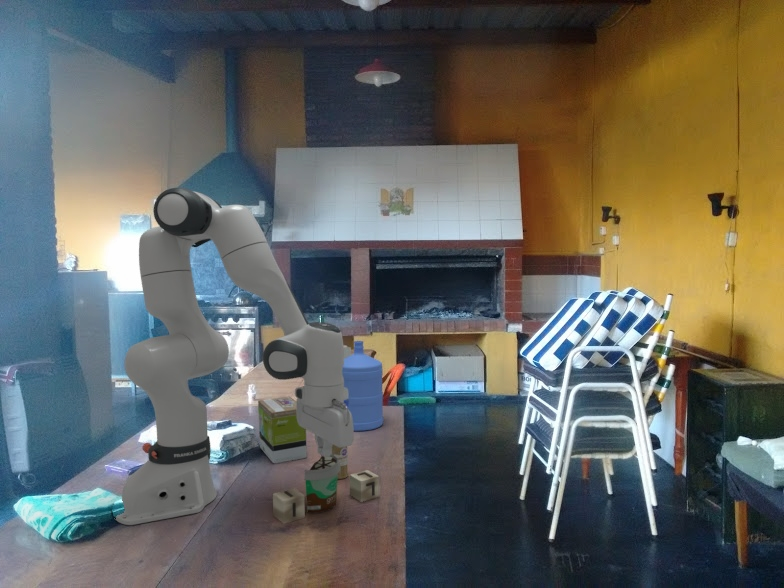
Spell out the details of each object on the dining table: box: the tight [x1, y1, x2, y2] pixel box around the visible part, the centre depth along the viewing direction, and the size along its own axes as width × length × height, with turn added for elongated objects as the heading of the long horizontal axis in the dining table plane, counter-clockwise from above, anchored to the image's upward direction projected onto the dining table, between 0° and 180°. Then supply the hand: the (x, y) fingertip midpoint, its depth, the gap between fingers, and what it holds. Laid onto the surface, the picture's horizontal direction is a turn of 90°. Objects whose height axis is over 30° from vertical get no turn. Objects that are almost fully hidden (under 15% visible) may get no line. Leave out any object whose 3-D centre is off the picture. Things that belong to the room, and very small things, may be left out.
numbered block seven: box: [349, 469, 380, 503], centre depth 136 cm, size 5×5×5 cm
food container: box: [303, 455, 341, 514], centre depth 131 cm, size 12×6×10 cm, turn 168°
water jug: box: [342, 340, 384, 432], centre depth 193 cm, size 16×16×28 cm
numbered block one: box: [272, 487, 306, 525], centre depth 126 cm, size 5×5×5 cm
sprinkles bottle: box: [331, 445, 349, 480], centre depth 148 cm, size 5×5×14 cm
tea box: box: [257, 395, 308, 464], centre depth 166 cm, size 15×10×15 cm, turn 27°
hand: (324, 455), depth 131 cm, fingers closed
